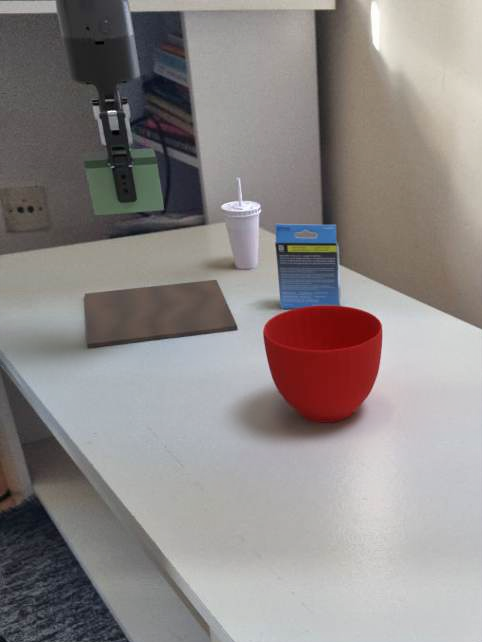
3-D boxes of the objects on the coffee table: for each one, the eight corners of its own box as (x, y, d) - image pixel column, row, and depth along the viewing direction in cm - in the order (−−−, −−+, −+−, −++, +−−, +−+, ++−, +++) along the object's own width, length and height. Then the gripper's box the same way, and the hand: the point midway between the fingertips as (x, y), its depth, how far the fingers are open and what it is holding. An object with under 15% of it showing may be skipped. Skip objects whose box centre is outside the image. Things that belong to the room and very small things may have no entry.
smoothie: (229, 273, 131) (219, 183, 123) (225, 261, 136) (215, 174, 128) (268, 269, 133) (260, 180, 125) (262, 258, 138) (255, 171, 130)
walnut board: (88, 348, 107) (87, 343, 107) (85, 297, 123) (84, 293, 122) (237, 329, 112) (237, 325, 112) (216, 283, 128) (216, 279, 127)
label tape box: (341, 300, 121) (338, 216, 114) (339, 310, 118) (336, 224, 111) (283, 299, 121) (277, 216, 114) (280, 309, 118) (273, 224, 111)
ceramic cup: (403, 377, 100) (404, 299, 94) (364, 443, 86) (362, 357, 81) (305, 365, 102) (300, 289, 97) (252, 428, 89) (243, 343, 83)
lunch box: (164, 210, 96) (156, 156, 93) (94, 215, 94) (83, 161, 91) (161, 199, 100) (153, 148, 97) (94, 204, 98) (83, 152, 95)
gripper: (62, 27, 91) (93, 184, 101) (59, 38, 80) (94, 214, 90) (130, 25, 93) (154, 180, 103) (136, 36, 82) (163, 208, 92)
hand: (126, 195), depth 97 cm, fingers closed on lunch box, 5 cm apart
